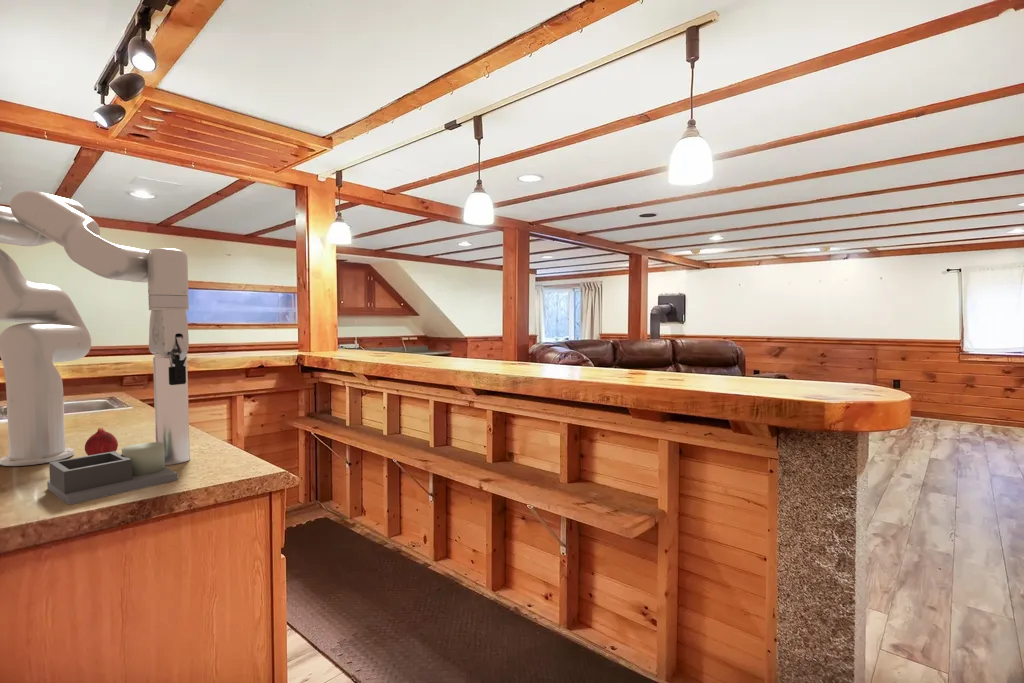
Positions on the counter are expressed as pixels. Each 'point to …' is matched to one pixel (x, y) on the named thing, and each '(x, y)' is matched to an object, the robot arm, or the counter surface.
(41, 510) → the counter surface
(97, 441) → the onion
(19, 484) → the counter surface
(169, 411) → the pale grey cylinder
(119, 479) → the grey desk organizer
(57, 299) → the robot arm
